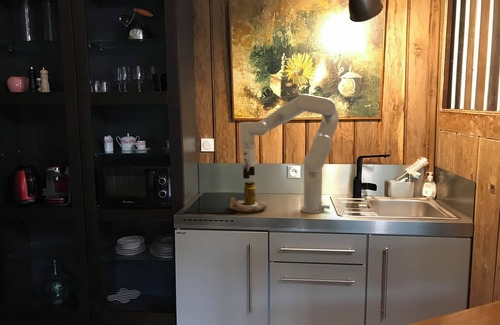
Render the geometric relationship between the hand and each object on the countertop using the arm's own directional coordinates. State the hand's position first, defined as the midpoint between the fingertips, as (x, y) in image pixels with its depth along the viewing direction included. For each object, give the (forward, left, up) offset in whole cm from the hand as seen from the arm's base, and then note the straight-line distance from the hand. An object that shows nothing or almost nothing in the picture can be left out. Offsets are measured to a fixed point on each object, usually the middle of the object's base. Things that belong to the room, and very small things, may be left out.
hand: (249, 176), depth 225 cm
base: (+1, 0, -18) cm, 18 cm away
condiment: (0, +1, -15) cm, 15 cm away
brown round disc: (+1, 0, -17) cm, 17 cm away
